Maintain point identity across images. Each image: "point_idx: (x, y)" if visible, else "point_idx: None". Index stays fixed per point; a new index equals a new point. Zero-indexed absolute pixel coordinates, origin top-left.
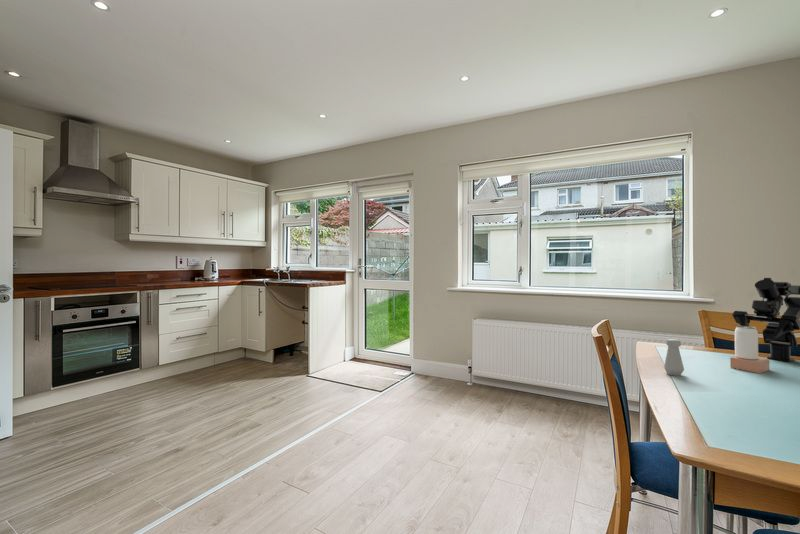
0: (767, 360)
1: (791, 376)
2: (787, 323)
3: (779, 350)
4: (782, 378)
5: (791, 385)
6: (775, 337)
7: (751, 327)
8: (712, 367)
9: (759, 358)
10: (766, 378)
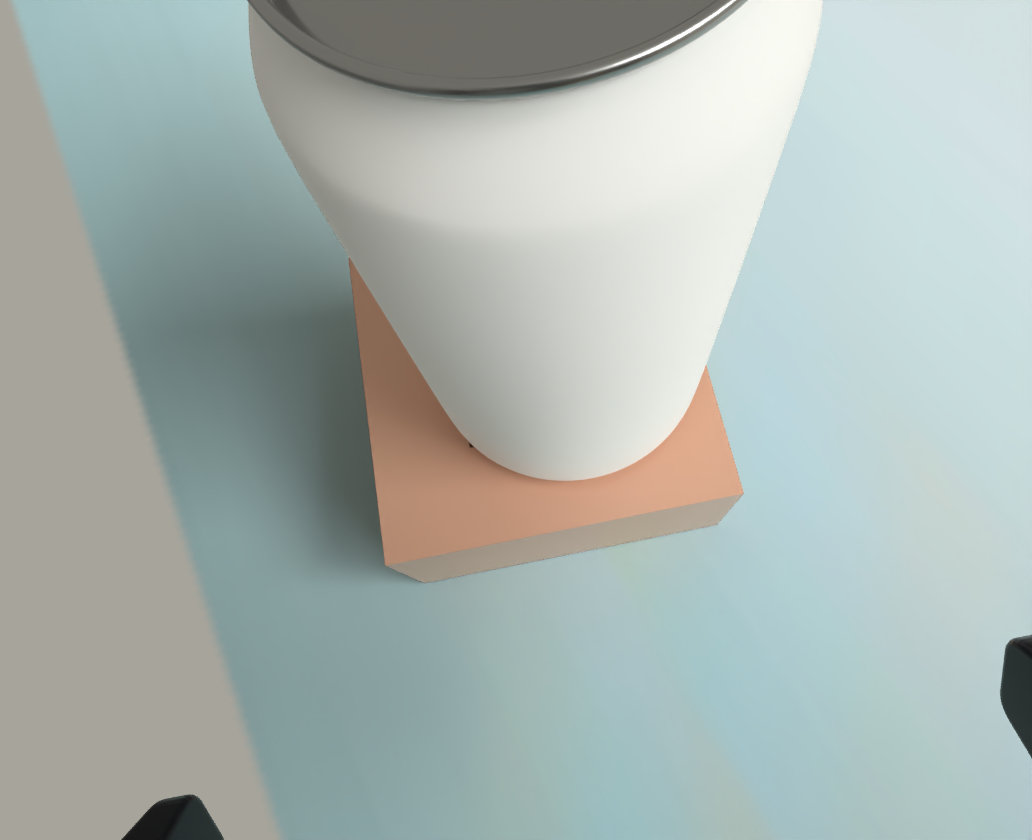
0: (377, 497)
1: (193, 514)
2: None
3: None
4: (205, 344)
5: (86, 192)
6: (164, 816)
7: (484, 104)
8: None
9: (480, 502)
10: (272, 209)
